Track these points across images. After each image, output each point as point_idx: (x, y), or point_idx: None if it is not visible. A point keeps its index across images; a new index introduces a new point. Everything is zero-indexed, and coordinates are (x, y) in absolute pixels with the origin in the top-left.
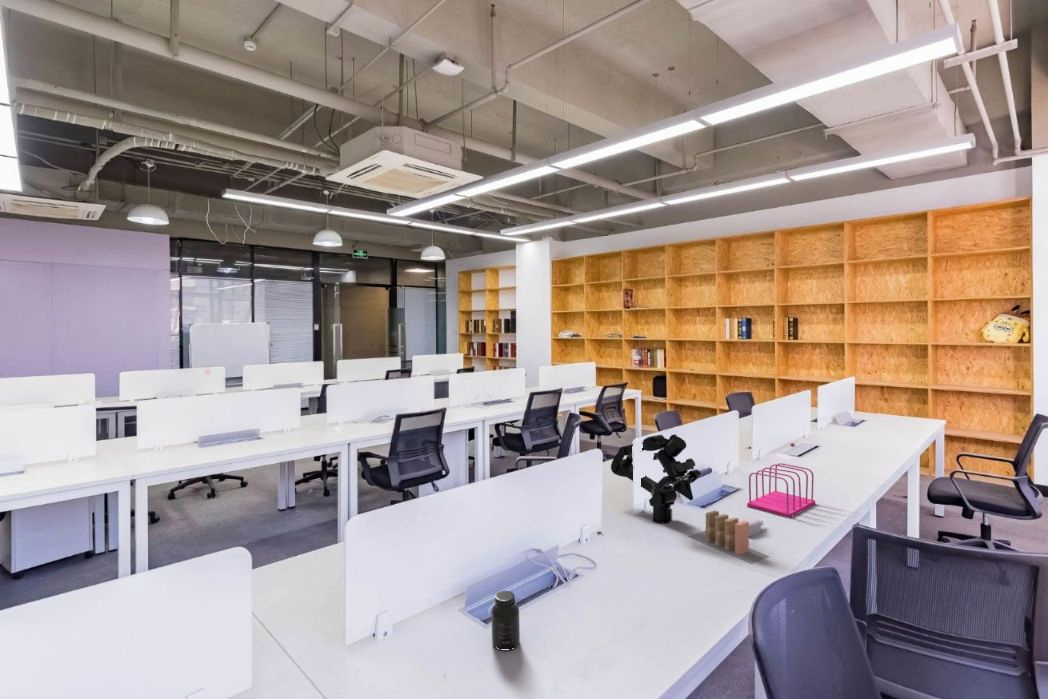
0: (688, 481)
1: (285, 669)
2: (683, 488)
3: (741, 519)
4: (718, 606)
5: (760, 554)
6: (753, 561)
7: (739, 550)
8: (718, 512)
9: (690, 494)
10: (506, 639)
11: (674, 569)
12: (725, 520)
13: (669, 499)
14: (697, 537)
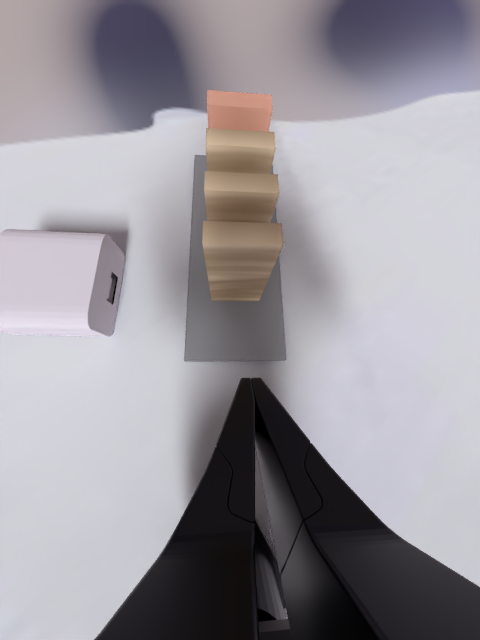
0: (220, 601)
1: None
2: (342, 496)
3: (39, 276)
4: (449, 122)
5: (204, 171)
6: None
7: None
8: (207, 223)
9: (259, 404)
10: None
11: (448, 243)
12: (274, 147)
13: (271, 632)
14: (261, 333)
